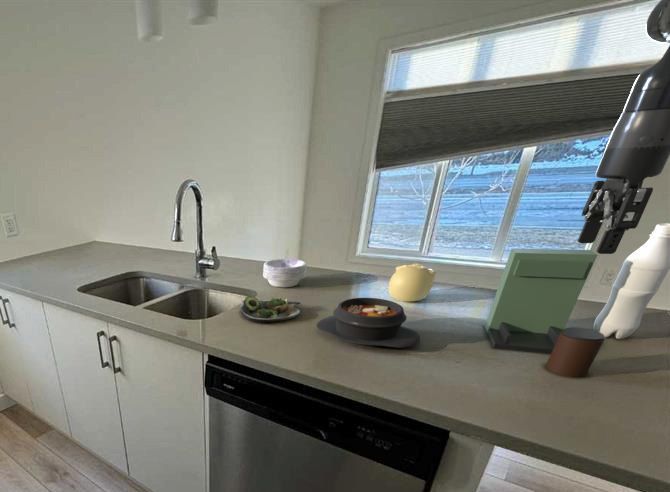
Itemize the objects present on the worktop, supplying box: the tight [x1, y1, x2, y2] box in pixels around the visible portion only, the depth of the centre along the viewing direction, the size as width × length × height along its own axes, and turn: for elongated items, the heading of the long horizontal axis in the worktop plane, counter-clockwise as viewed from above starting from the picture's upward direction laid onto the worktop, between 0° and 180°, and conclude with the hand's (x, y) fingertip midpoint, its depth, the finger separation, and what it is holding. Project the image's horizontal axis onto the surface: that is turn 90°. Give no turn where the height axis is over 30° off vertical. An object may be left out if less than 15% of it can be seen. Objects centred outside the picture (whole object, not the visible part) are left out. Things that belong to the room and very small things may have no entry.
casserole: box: [316, 297, 421, 349], centre depth 104 cm, size 25×19×8 cm
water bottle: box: [593, 222, 670, 340], centre depth 90 cm, size 7×7×25 cm
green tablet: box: [484, 248, 598, 355], centre depth 93 cm, size 14×14×20 cm
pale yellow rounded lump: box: [388, 263, 437, 302], centre depth 125 cm, size 12×12×11 cm
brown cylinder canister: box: [545, 326, 605, 378], centre depth 83 cm, size 6×6×8 cm
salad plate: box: [239, 295, 302, 324], centre depth 126 cm, size 19×18×5 cm
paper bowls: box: [262, 258, 308, 288], centre depth 149 cm, size 15×15×8 cm
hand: (594, 247), depth 72 cm, fingers open, 8 cm apart
